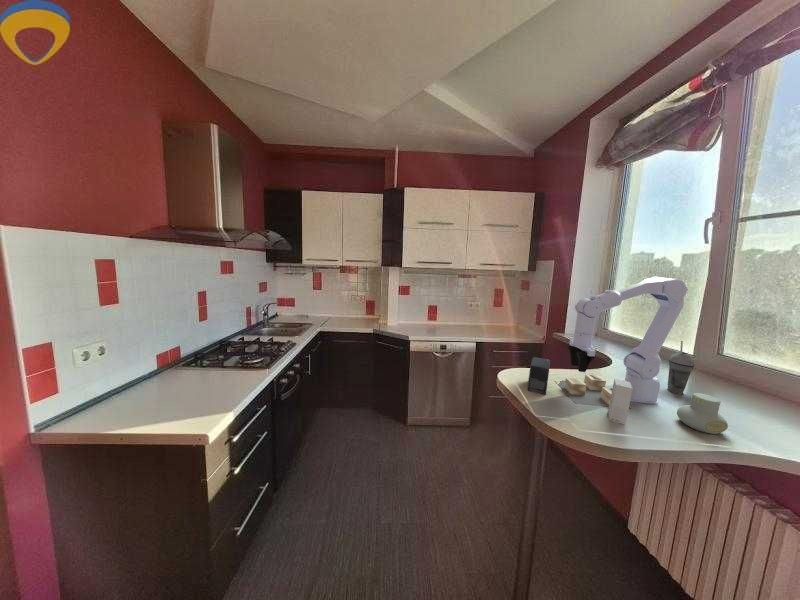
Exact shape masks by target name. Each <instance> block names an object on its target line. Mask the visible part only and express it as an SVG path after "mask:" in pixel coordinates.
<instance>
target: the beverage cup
mask: <svg viewBox="0 0 800 600" xmlns="http://www.w3.org/2000/svg"><path fill="white" fill-rule="evenodd" d="M683 342H684V341H683V340H681V341H680V352H675V353H673V354H672V355H671V356H670V357H669V360H668V366H669V369H668V378H667V391H669V392H671V393H675V394H680V395H683V394H684V392H685V389H686V386H687V384H688V381H689V379H690V375H691V373H692V371H693V370H694V367H695V360H694V358H693V357H692V356H691V355H690V354H689V353H687V352H683V347H684V346H683V344H684V343H683Z"/></svg>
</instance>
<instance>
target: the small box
mask: <svg viewBox="0 0 800 600" xmlns="http://www.w3.org/2000/svg"><path fill="white" fill-rule="evenodd" d="M550 366H551V360H550V359H547V358H541V357H536V356H533V357H532V359H531V363H530V368H529V372H528V373H529V374H528V382H527V391H528V392H531V393H535V394H540V395H543V396H546V395H547V390H548V383H549V382H548V381H549V373H550Z"/></svg>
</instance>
